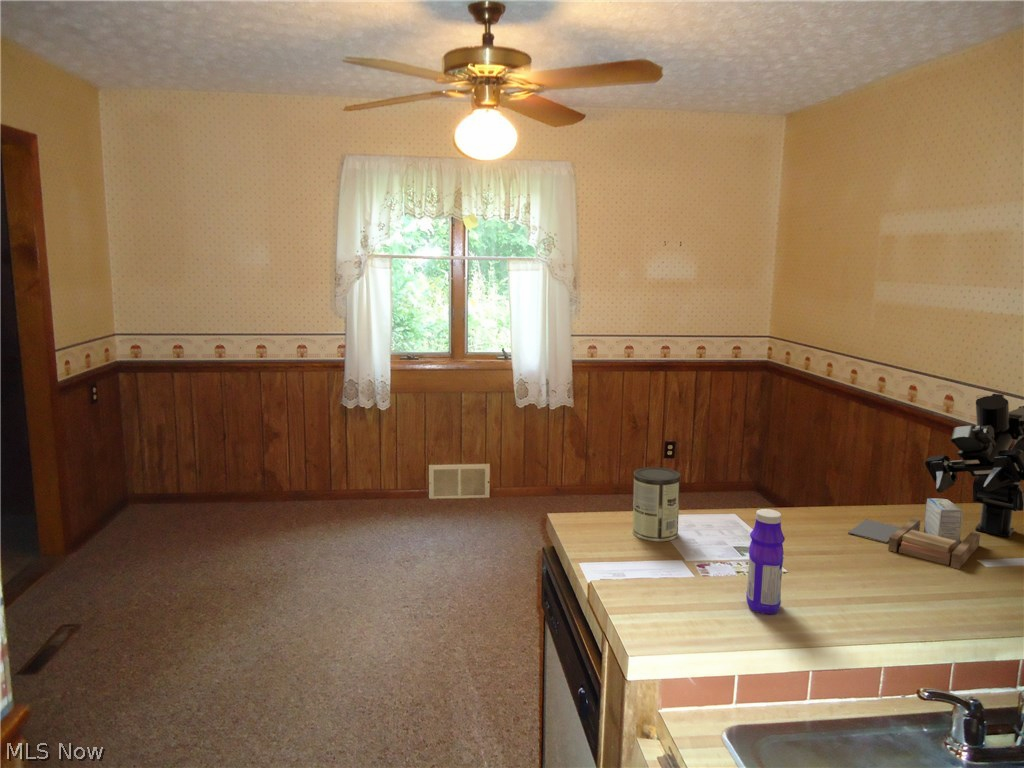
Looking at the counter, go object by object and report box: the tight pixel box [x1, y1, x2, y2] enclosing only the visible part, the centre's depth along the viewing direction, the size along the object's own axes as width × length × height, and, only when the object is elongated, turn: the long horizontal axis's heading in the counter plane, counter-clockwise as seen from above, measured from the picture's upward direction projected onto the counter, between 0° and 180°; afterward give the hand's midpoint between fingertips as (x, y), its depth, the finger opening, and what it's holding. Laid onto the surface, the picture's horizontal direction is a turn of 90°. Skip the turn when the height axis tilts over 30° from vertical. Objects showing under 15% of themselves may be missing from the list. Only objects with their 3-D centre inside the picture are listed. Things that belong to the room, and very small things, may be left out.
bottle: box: [745, 508, 786, 615], centre depth 119 cm, size 7×6×17 cm
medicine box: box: [923, 497, 964, 549], centre depth 149 cm, size 8×4×9 cm, turn 168°
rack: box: [887, 517, 981, 570], centre depth 146 cm, size 17×13×3 cm
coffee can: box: [632, 466, 682, 543], centre depth 153 cm, size 10×10×14 cm
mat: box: [847, 518, 902, 544], centre depth 156 cm, size 12×8×1 cm, turn 135°
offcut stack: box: [898, 530, 956, 566], centre depth 142 cm, size 6×9×4 cm
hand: (960, 490), depth 139 cm, fingers open, 9 cm apart
